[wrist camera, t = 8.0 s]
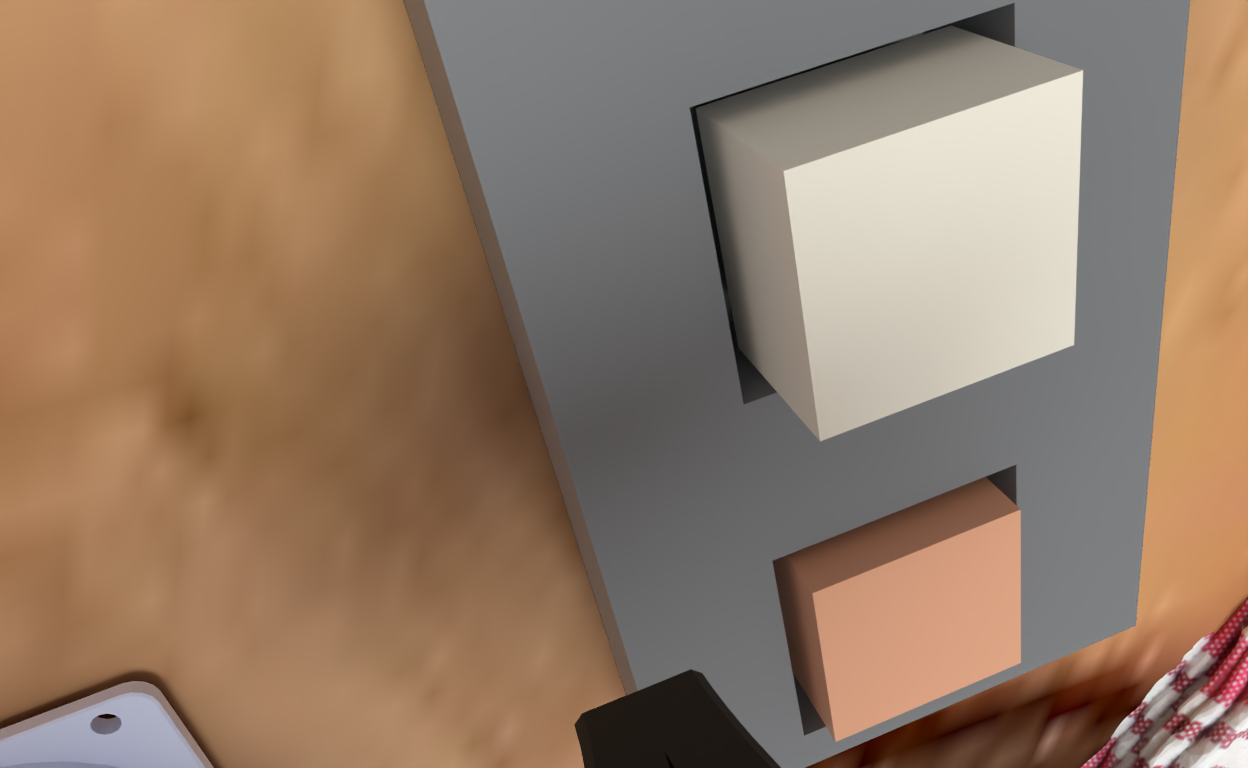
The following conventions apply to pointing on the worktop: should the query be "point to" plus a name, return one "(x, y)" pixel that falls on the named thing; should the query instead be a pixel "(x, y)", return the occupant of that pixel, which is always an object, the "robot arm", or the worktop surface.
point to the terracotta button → (905, 607)
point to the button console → (725, 378)
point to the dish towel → (1191, 710)
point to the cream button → (899, 222)
